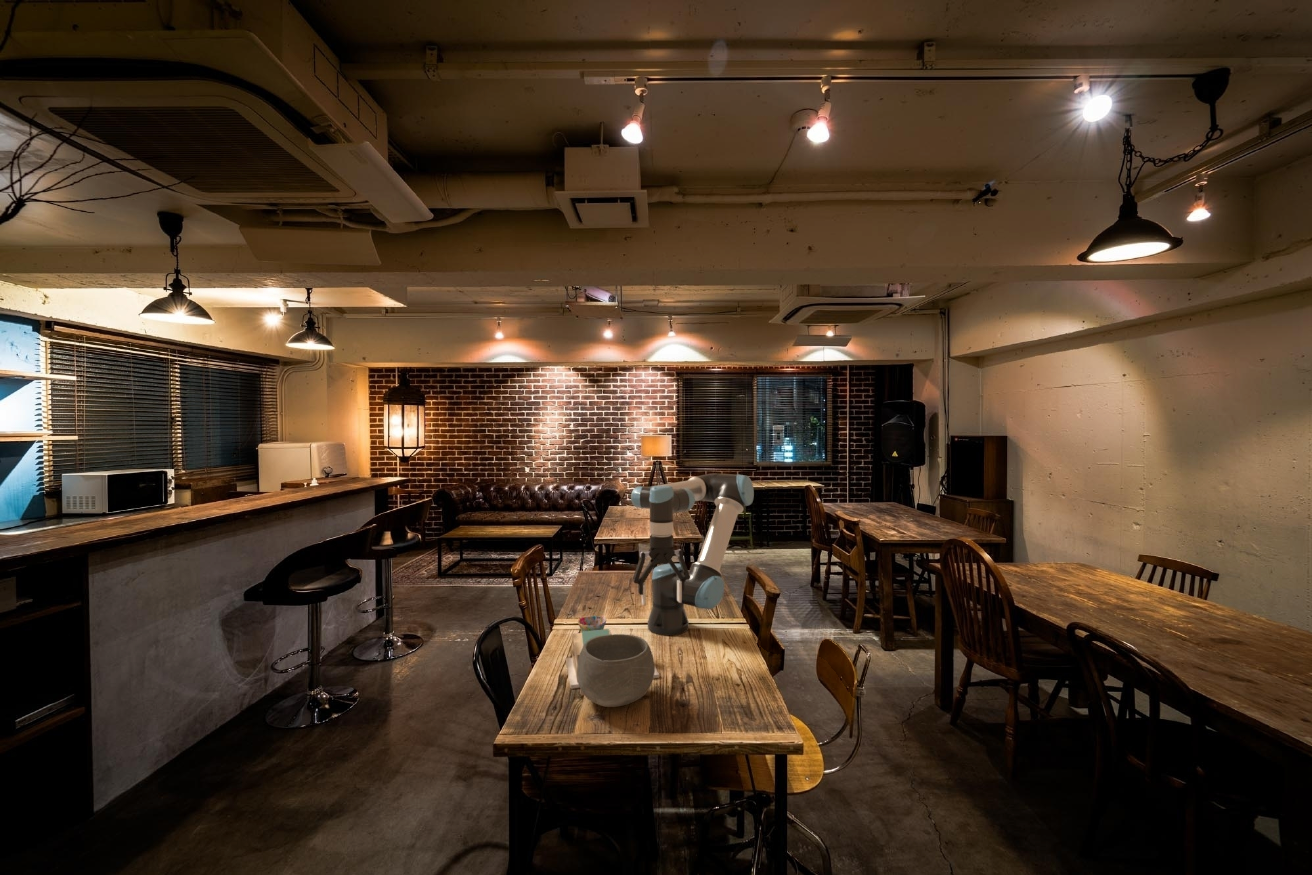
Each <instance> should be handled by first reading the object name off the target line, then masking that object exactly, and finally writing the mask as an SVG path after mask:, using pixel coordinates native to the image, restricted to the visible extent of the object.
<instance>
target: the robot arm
mask: <svg viewBox="0 0 1312 875" xmlns="http://www.w3.org/2000/svg"><path fill="white" fill-rule="evenodd" d="M754 491H755V490H754V483H753V482H752V480H751V478H750V477H749V476H748V475H743V474H739V473H738V474H729V473H716V472H715V473H714V472H713V473H708V474H707V473H706V474H702V475H697V476H692V477H690V478H689V479H688V480H684V481H678V482H676V481H675V482H670V483H665V484H659V485H658V484H657V485H654V486H643V485H642V486H636V487H634V488H633V490H632V492H631V495H630V496H631V497H630V498H631V499H630V500H631V501H630V502H631V503H632V505H633V507H635V508H639V509H648V510H649V534H650V535H649V550H647V551H643V550H640V551H639V559H638V563H637V565H636V568H635V572H634V574H633V577H632V581H633V583H634V584H637V586H638V587H637V588H638V595H639V596H641V605H642V606H644V607H645V606H646V605H647V596H646V594H647V593H646V592H647V585H646V584H645V582H646V580H647V579H648V576H649V575H650V574H651V572H652V575H651V576H652V577H651V580H652V581H651V582H652V595H651V596H652V598H651V599H652V605H651V606H652V608H651V610H650V612H649V617H648V620H647V630H648V631H650V632H651V633H653V634H656V635H664V636H674V635H675V636H676V635H680V634H681V635H682V634H684V633H685V632H687V631H688V630H689V624H690V623H689V620H688V619H689V618H688V616H687V613H686V609H685V605H687V606H692V607H696V608H698V609H701V610H702V609H705V610H713V609H714V608H715V607H718V605H719V604H720V603H721V601H722V599H723V597H724V592H725V581H724V579H723V578H722V576H723V575H722V572H721V566H722V564H723V560H724V558H725V555H726V551H727V548H728V546H729V542H730V539H731V535H732V534H733V530H734V527H735V523H736V521H737V518H738V516H739V514H742V513H743V512H744V508H745V506H746V507H747V506H750V505H752V504H753V501H754V498H755V497H754V495H755V493H754ZM698 501H703V502H704V501H705V502H712V503H714V504H715V506H716V507H715V509H714V512H713V516H712V518H711V521H710V524H709V527H708V531H707V533H706V535H705V539H704V542H703V544H702V547H701V550H700V553H699V555H698V558H697V561H695V562H692V563H691V565H690V567H689V570H688V567H687V564H686V561H685V559H684V550H682V549H680V548H678V549H674V535H673V534H674V514H677V513H682V512H683V513H684V512H687V511H689V510H692V508H693V507H694V505H695V503H696V502H698ZM674 555H675V556H676V557H677V559H678V561H679V563H675V562H674V561H673V559H672V558H673V557H674ZM648 556H649V558H650V560H649V562H648V564H647V565H646V567H645V569H644V571H643V567H644V565H645V561H646V559H647V558H648ZM656 565H658V566H656ZM642 571H643V572H642Z"/></svg>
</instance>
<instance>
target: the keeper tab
mask: <svg viewBox="0 0 1312 875" xmlns="http://www.w3.org/2000/svg"><path fill="white" fill-rule="evenodd" d="M609 630H610V629H609V628H606V629H603V630H593V631H583V632H582V639H583V646H584V644H585V643H586V642H587V641H588V640H589V639H591V638H594V637H596V636H603V635H609Z"/></svg>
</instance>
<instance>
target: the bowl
mask: <svg viewBox="0 0 1312 875" xmlns="http://www.w3.org/2000/svg"><path fill="white" fill-rule="evenodd" d="M654 659H655V658H654V656H653V652H652V649H651V647H650V644H649V643H648V642H647V640H645V639H644V638H642V637H641V638H640V636H637V635H634V634H626V633H625V634H623V633H619V634H618V633H616V634H615V633H613V634H612V635H603V636H596V637H594V638H591V639H589V640H588V641H587V642H586V643H585V644H584V646H583V648H582V650H581V652H580V655H579V659H578V665H577V680H578V684H579V686H580V688H579V689H580V690H581V693H582V694H583V695H584V697H585V698H586V699H587V700H588V701H590V702H592V703H594V704H596V705H598V706H601V707H605V708H606V707H607V708H616V707H623V706H625V705H629V704H631V703H634V702H637V701H638V700H640V699H641V698H643V697H644V696H645V695H646V693H647V692H648V691H649V690H650V688H651V686H652V684H653V680H654V679H653V677H654V673H655V667H656V665H655V660H654Z"/></svg>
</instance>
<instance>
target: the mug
mask: <svg viewBox="0 0 1312 875" xmlns="http://www.w3.org/2000/svg"><path fill="white" fill-rule="evenodd" d="M606 623H607V618H605V617H604V616H600V615H589V616H588V615H587V616H583V617H581V618H579V619H578V621H577V624H578V626H579V629H580V633H582V632H583V631H593V630H603V629H604V628H605V626H606Z"/></svg>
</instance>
